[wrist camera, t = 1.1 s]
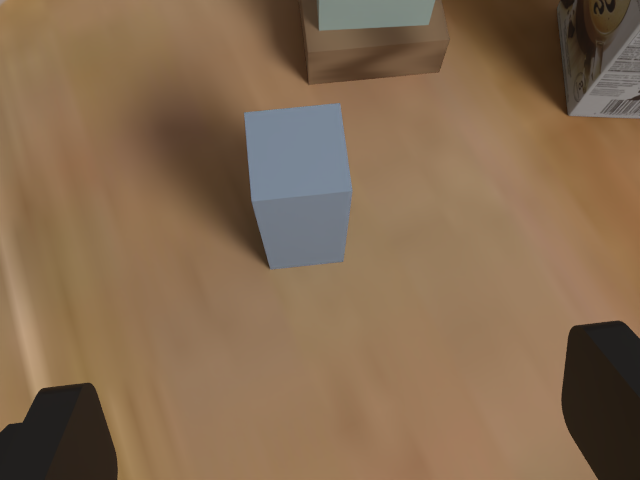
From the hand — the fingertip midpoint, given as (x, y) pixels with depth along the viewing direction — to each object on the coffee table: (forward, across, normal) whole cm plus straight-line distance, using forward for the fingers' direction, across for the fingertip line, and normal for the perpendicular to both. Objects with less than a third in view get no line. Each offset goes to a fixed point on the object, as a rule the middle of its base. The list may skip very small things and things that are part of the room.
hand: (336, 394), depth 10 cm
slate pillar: (+26, 0, +10) cm, 28 cm away
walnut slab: (+37, -6, -1) cm, 38 cm away
